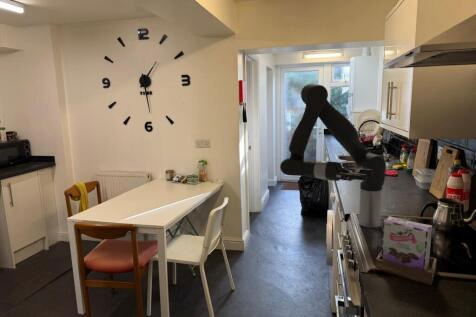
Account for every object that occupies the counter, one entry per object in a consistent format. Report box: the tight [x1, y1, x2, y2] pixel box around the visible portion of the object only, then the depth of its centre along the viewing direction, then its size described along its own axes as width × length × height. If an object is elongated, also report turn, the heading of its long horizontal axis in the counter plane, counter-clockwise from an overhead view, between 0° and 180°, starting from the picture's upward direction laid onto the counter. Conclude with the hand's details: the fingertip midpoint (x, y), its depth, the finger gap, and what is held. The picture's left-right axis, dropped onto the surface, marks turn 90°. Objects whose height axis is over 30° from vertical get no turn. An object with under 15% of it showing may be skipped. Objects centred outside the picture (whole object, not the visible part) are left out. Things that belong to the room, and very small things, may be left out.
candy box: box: [381, 215, 433, 271], centre depth 110 cm, size 14×6×16 cm, turn 46°
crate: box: [375, 249, 437, 286], centre depth 111 cm, size 11×17×4 cm, turn 53°
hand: (369, 175), depth 121 cm, fingers open, 8 cm apart
